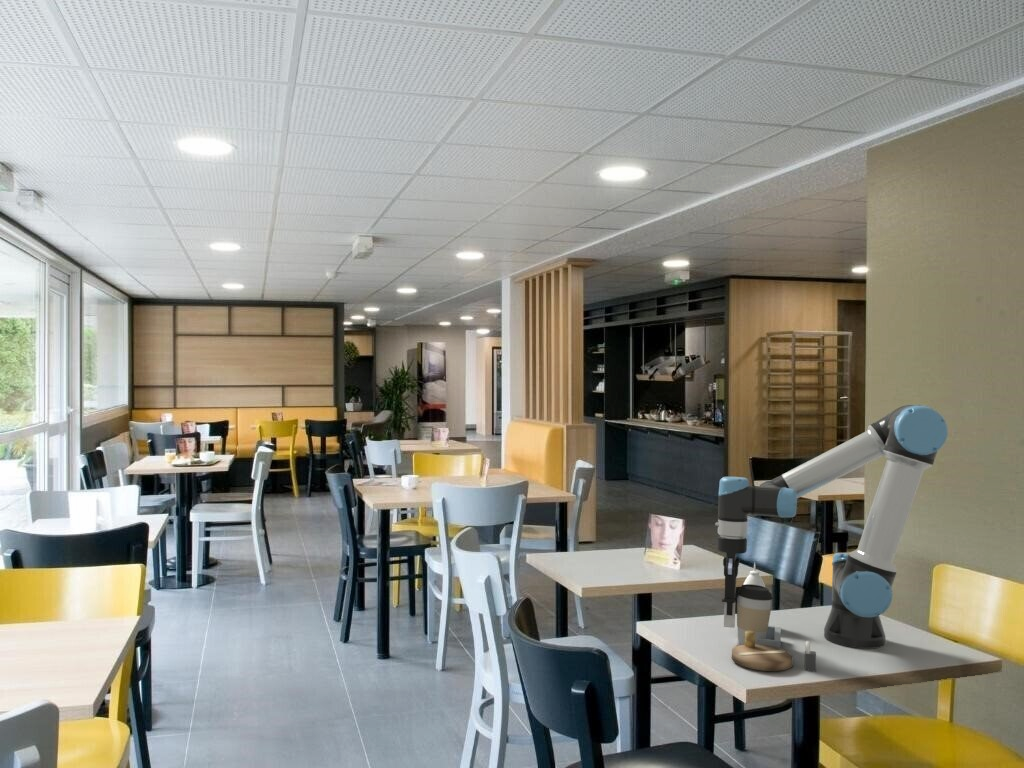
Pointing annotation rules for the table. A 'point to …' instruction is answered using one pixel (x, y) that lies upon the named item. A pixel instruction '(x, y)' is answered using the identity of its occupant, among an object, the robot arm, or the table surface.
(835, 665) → the table surface
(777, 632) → the pocket stop
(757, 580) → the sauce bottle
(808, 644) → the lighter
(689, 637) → the table surface
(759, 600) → the coffee cup
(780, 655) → the disc
